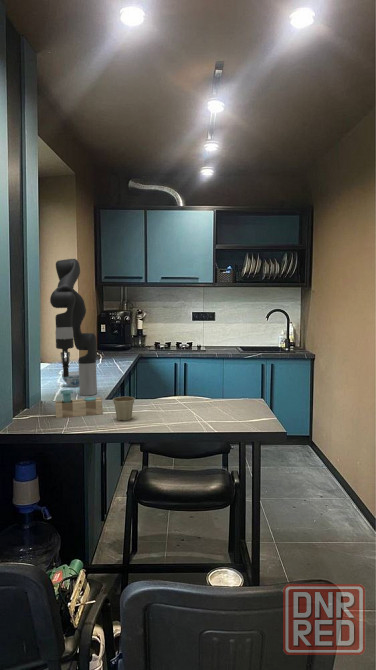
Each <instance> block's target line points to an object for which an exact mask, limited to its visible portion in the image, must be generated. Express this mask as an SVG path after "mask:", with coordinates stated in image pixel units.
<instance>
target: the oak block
mask: <svg viewBox="0 0 376 670" xmlns="http://www.w3.org/2000/svg"><path fill="white" fill-rule="evenodd" d="M54 404H55V405H54V406H55V418H56V419H62V418H71V417H72V418H73V417H81V416H82V417H83V416H93V415H94V416H95V414H97V415H103V414H104V413H103V411H104V410H103V400H102V397H96V400H95V401H84V398H80V399H79V398H78V399H71V403H63V400H55V403H54Z"/></svg>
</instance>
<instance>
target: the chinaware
mask: <svg viewBox="0 0 376 670" xmlns="http://www.w3.org/2000/svg"><path fill="white" fill-rule="evenodd" d="M61 377H62V380H63V381H64V382H65V383H66V384H67V385H68V386H69V388H78V386H79V370H76V371H69V376H68V377H64V376H63V372H62V373H61ZM79 387H80V386H79Z"/></svg>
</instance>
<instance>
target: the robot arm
mask: <svg viewBox="0 0 376 670" xmlns="http://www.w3.org/2000/svg"><path fill="white" fill-rule="evenodd" d="M55 270H56V273H57V274H56V275H57V277H58V280H59V281H58V283H57V286H56V288H55V289H54V290H53V291H52V293H51V295H50V296H49V297H50V299H49V303H50V305H51V306H52V307H53V308H55V309H66V311H64V312H61V313H57V314H56V315H55V317H54V318H55V333H54V334H55V348H56V349H57V350H62V352H60V361H61V364H62V373H63V376H64V377H68V376H69V372H70V370H69V368H70V362H71V360H70V357H71V353H70V351H68V350H69V349H73V348H74V346H75V348H76V350H77V351H87V354H85V355H83V356H80V357H78V371H79V396H87V397H88V396H95V395H97V394H98V384H97V383H98V382H97V381H98V380H97V379H98V378H97V337H96V335H95V334H94V333H93V332H87V333H86V332H82V329H81V326H82V323H83V321H84V319H85V317H86V314H87V308H86V304H85V300H84V298H83V297H82V296H81V294H80V293H78V292H77V291H76V289H74V287H75V285H76V282H78V279H79V277H80V275H81V265H80V263H79V260H78V259H76V258H67V259H61V260H59V259H58V260H56V262H55Z"/></svg>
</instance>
